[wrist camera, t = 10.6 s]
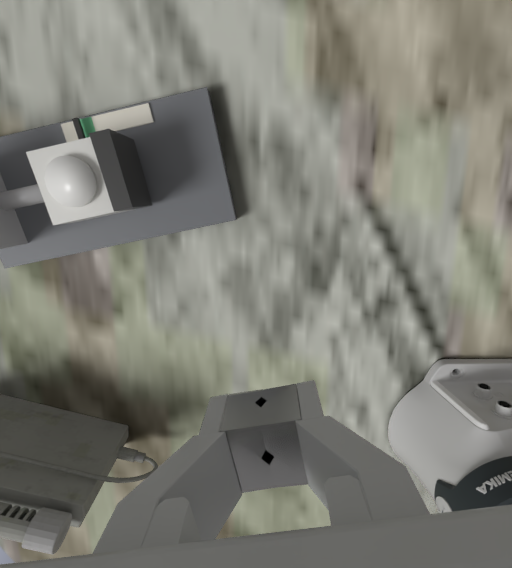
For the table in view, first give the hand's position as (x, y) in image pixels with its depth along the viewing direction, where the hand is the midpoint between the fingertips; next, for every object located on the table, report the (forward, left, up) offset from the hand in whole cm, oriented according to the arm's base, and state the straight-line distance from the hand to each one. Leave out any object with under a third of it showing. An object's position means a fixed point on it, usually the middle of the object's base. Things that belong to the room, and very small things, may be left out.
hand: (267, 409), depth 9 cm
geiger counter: (+28, +16, -26) cm, 42 cm away
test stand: (+14, -10, -26) cm, 31 cm away
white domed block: (+16, -11, -24) cm, 31 cm away
